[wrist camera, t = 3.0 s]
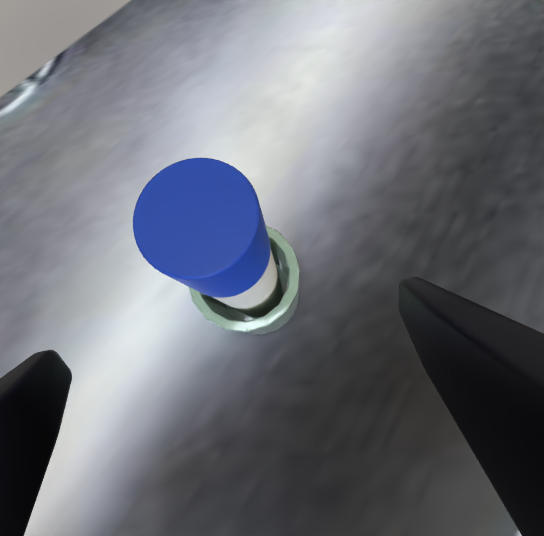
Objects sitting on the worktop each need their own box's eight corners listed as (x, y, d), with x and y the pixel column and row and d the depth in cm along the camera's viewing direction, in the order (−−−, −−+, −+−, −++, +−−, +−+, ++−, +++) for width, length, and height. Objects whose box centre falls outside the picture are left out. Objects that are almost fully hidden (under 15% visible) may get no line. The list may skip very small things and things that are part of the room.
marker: (294, 295, 18) (286, 221, 7) (253, 329, 18) (179, 307, 7) (261, 256, 19) (208, 133, 8) (221, 289, 19) (107, 208, 8)
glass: (315, 299, 19) (322, 281, 13) (251, 351, 18) (232, 355, 13) (264, 239, 20) (252, 201, 14) (203, 288, 19) (167, 267, 14)
